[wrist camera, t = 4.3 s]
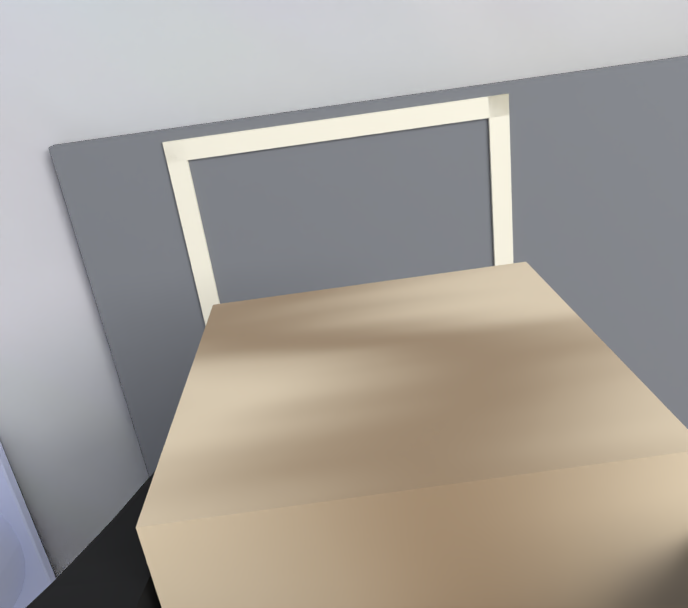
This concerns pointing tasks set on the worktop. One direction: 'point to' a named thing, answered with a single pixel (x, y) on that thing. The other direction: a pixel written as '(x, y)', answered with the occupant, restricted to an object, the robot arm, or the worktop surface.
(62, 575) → the robot arm
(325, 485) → the maple block
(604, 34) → the worktop surface
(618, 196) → the build mat
